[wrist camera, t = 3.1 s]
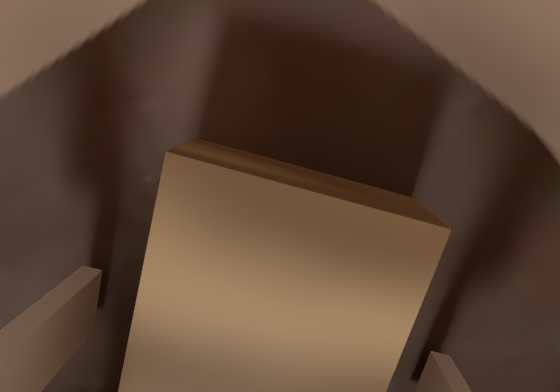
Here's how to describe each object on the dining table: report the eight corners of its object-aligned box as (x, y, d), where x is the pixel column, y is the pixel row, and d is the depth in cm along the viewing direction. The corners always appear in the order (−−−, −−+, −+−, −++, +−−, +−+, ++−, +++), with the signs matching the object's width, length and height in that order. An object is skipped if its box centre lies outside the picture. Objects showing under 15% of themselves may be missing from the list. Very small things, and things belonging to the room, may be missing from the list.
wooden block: (304, 478, 18) (307, 584, 14) (134, 437, 17) (89, 533, 14) (408, 194, 14) (451, 229, 10) (200, 137, 14) (165, 151, 10)
